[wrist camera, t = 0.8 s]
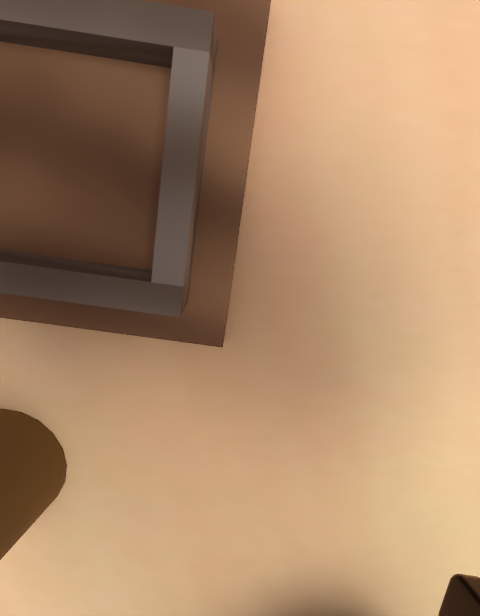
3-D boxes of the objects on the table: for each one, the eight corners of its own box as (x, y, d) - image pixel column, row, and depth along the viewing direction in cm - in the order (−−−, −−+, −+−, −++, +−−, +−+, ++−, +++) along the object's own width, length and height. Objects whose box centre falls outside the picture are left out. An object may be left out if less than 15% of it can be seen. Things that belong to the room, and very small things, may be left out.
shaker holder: (223, 340, 20) (220, 367, 17) (-78, 299, 20) (-144, 319, 16) (269, 7, 17) (277, -43, 14) (-88, -51, 17) (-172, -117, 13)
